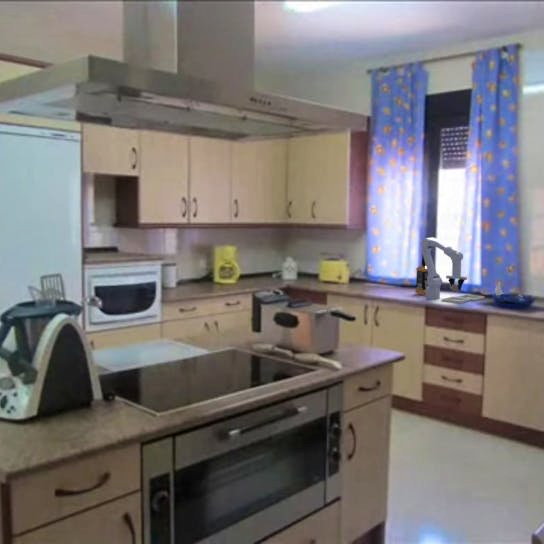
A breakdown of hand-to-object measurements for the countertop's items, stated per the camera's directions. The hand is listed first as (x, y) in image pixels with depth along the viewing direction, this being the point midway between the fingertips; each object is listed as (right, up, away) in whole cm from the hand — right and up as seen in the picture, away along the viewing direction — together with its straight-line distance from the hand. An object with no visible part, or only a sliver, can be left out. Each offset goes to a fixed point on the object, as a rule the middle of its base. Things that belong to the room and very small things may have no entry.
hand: (456, 289), depth 412 cm
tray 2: (+13, -8, +9) cm, 17 cm away
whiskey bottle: (-12, -5, +39) cm, 41 cm away
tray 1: (0, -9, +1) cm, 9 cm away
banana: (+35, -9, -2) cm, 36 cm away
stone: (0, -1, 0) cm, 1 cm away
